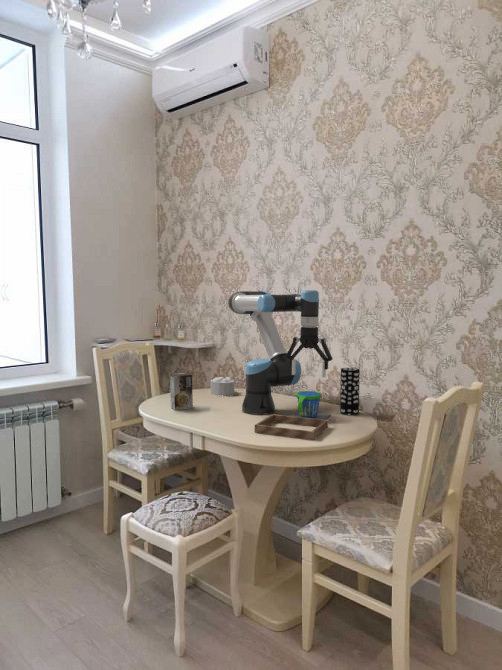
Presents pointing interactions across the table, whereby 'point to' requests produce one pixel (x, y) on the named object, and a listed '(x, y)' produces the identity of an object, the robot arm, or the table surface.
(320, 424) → the wooden frame
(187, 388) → the coffee box
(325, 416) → the slate mat
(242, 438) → the table surface
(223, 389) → the lumpy-topped squat cylinder
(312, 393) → the snack cup
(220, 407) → the table surface
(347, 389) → the spotted tube
